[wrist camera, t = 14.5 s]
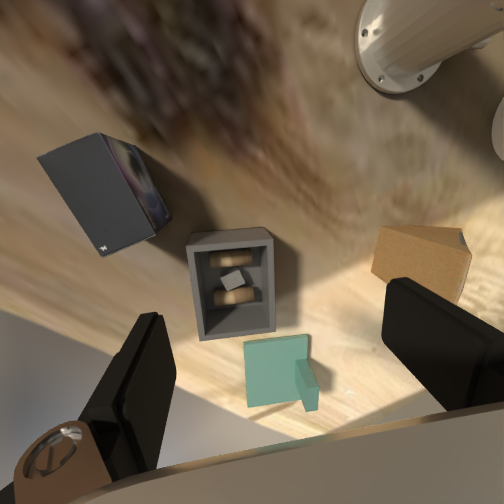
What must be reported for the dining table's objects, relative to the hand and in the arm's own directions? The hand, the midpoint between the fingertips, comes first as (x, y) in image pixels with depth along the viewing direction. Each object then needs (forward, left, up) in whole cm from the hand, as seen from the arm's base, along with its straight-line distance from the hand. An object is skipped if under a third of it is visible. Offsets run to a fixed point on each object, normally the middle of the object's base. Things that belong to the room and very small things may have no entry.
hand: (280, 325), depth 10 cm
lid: (-5, +29, -26) cm, 39 cm away
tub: (+1, +9, -27) cm, 28 cm away
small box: (+13, -4, -27) cm, 31 cm away
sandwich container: (-30, +8, -27) cm, 42 cm away
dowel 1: (+1, +6, -26) cm, 27 cm away
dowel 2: (+1, +12, -26) cm, 29 cm away
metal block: (+1, +9, -26) cm, 28 cm away
